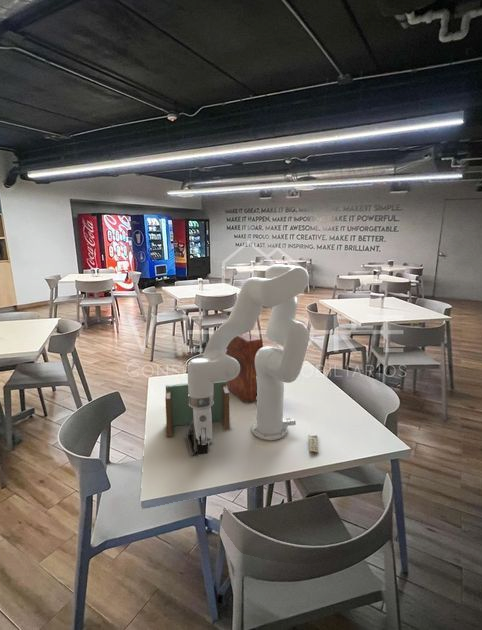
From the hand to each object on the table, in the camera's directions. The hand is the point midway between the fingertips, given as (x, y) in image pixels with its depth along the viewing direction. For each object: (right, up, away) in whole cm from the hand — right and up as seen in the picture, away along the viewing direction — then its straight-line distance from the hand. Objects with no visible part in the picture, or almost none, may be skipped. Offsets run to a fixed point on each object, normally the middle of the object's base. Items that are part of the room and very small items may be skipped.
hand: (202, 452), depth 105 cm
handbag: (+11, +8, +48) cm, 49 cm away
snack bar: (+36, -1, +8) cm, 37 cm away
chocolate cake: (-2, -1, +8) cm, 8 cm away
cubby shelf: (-5, +2, +18) cm, 19 cm away
